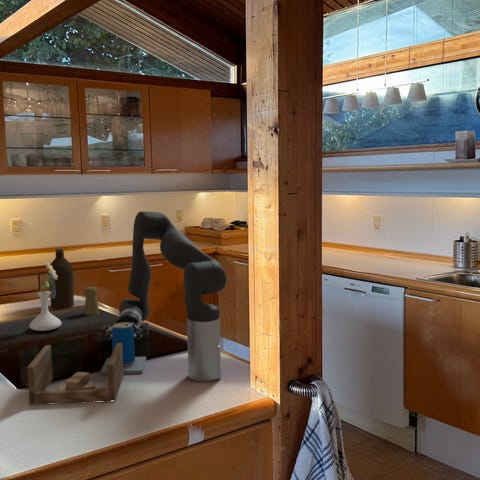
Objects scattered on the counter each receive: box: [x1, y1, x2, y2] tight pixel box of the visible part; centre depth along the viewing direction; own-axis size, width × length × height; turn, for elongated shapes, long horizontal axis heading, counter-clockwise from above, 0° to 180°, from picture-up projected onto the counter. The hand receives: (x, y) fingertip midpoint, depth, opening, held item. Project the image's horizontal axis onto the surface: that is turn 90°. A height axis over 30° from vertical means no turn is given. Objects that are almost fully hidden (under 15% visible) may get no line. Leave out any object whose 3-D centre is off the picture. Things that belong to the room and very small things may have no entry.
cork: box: [83, 286, 100, 317], centre depth 241 cm, size 6×6×11 cm
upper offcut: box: [65, 371, 91, 390], centre depth 158 cm, size 7×4×2 cm, turn 169°
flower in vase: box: [29, 261, 63, 332], centre depth 219 cm, size 13×11×25 cm
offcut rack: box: [26, 343, 125, 406], centre depth 160 cm, size 22×18×10 cm
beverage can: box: [111, 322, 136, 366], centre depth 178 cm, size 6×6×12 cm
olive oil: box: [47, 247, 75, 310], centre depth 253 cm, size 11×11×25 cm
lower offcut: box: [57, 380, 96, 391], centre depth 159 cm, size 9×4×2 cm, turn 113°
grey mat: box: [100, 356, 147, 376], centre depth 178 cm, size 12×12×1 cm
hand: (122, 337), depth 176 cm, fingers open, 8 cm apart
